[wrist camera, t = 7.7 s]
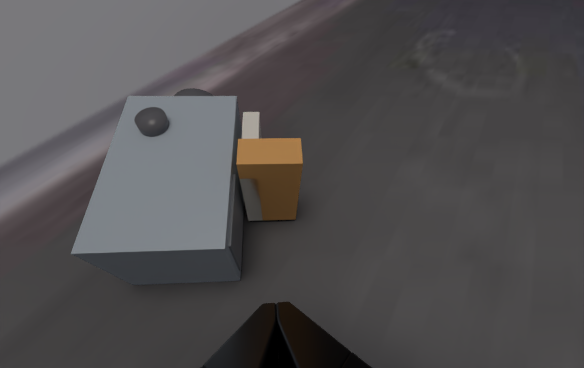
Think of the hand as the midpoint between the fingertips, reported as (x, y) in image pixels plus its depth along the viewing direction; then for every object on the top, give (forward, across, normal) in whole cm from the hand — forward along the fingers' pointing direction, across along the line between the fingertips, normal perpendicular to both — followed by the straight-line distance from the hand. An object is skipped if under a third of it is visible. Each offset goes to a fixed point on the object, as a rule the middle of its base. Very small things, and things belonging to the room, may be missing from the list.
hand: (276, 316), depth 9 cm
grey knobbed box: (+18, -6, -1) cm, 19 cm away
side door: (+18, 0, -1) cm, 18 cm away
